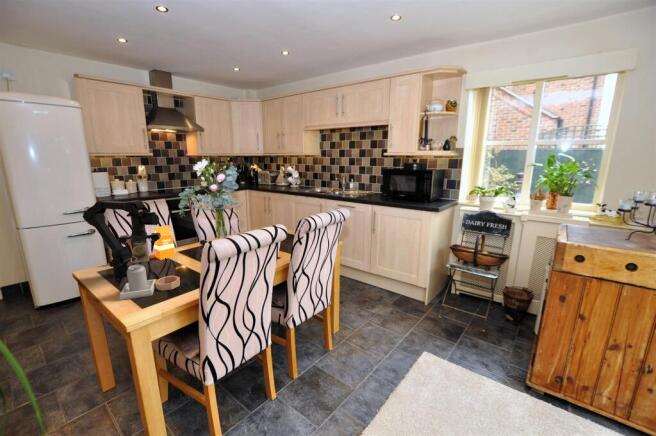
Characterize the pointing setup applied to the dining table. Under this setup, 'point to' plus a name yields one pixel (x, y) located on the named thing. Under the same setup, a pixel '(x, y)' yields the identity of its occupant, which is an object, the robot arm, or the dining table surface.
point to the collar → (161, 286)
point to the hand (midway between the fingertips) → (142, 253)
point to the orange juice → (164, 243)
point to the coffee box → (140, 251)
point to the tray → (136, 294)
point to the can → (137, 278)
